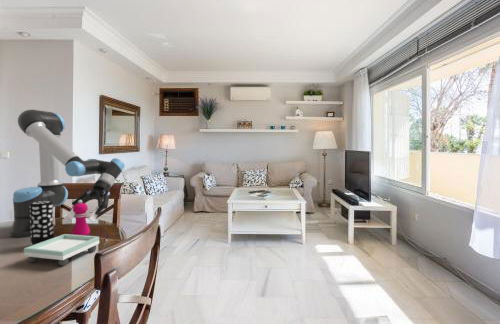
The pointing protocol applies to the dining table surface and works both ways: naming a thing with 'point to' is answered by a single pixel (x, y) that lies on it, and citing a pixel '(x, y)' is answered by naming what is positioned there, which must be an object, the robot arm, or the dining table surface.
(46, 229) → the white-spotted black cylinder
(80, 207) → the pepper mill
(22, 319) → the dining table surface
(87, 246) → the rolling base
